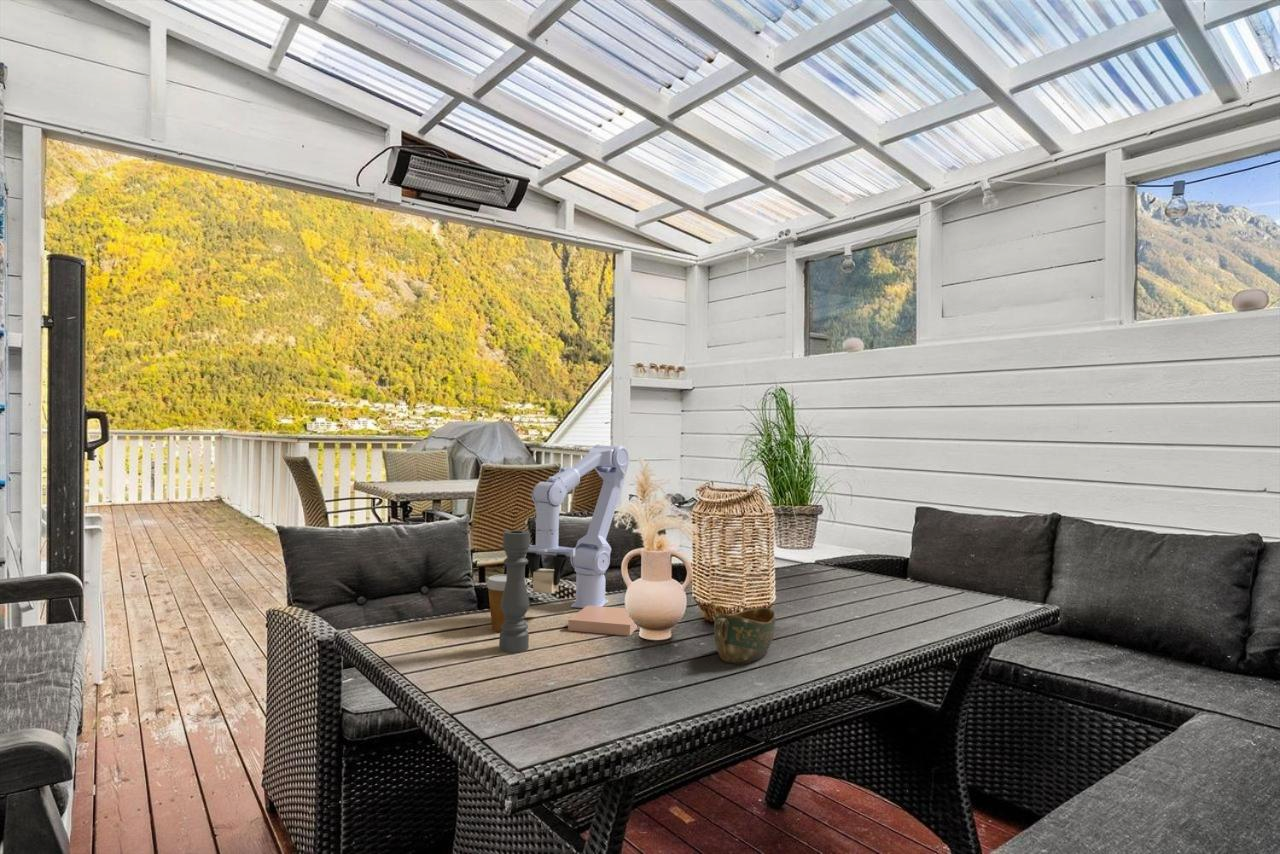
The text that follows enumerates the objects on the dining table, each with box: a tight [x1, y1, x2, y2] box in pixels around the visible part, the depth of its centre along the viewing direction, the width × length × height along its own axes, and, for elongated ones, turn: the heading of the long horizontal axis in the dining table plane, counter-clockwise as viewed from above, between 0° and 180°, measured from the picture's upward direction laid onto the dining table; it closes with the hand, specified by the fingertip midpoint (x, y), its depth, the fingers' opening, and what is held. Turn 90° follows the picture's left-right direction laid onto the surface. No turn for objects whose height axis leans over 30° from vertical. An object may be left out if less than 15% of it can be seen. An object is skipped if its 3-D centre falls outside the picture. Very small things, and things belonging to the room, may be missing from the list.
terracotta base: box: [567, 605, 638, 637], centre depth 178 cm, size 15×15×2 cm
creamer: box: [713, 607, 776, 665], centre depth 156 cm, size 13×20×10 cm, turn 116°
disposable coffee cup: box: [485, 573, 528, 633], centre depth 172 cm, size 10×10×12 cm
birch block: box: [532, 568, 560, 594], centre depth 184 cm, size 5×5×5 cm
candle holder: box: [498, 529, 531, 654], centre depth 157 cm, size 6×6×25 cm
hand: (546, 583), depth 184 cm, fingers closed on birch block, 5 cm apart
